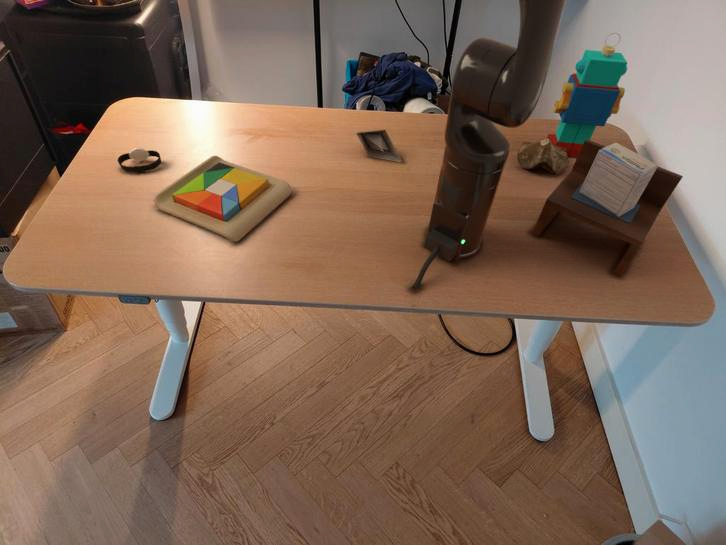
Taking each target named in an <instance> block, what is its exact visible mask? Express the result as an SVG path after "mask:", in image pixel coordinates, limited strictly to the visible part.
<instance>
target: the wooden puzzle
mask: <svg viewBox="0 0 726 545" xmlns="http://www.w3.org/2000/svg"><path fill="white" fill-rule="evenodd" d="M291 194H292V186H291V184H290V183H289V182H287V180H284V179H281V178H278V177H274V176H272V175H268V174H266V173H263V172H261V171H260V172H259V171H256V170H254V169H251V168H247V167H244V166H241V165H238V164H235V163H232V162H230V161H226V160H225V159H223V158H222V157H221V156H219V155H212V156H210V157H209V158H207V159H206V160H204V161H202V162H201V163H199V164H198V165H197V166H195V167H194V168H193V169H191V170H190V171H188V172H187V173H185V174H183V175H182V176H181V177H179V178H178V179H176V180H175V181H174V182H172V183H171V184H170V185H168V186H166V187H165V188H163V189H162V190H161V191H159V192H157V193H156V194H155V195H154V197H153V203H154V206H155V208H157V209H158V210H160V211H161V212H163V213H167V214H169V215H172V216H174V217H176V218H178V219H181V220H183V221H186V222H188V223H191V224H194V225H196V226H199V227H201V228H203V229H206V230H209V231H211V232H213V233H216V234H217V235H220V236H223V237H224V238H226V239H227V240H228V241H231V242H239V241H241V239H242V238H243V237H245V236H246V235H247V234H248V233H250V232H251V231H252V230H253V229H254V228H255V227H257V225H259V224H260V223H261V222H262V221H263V220H265V219H266V217H267V216H269V215H270V214H271V213H272V212H273V211H275V209H276V208H278V207H279V206H280V205H281V204H282V203H283V202H284V201H286V200H287V199H288V197H290V196H291Z"/></svg>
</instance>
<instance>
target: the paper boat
mask: <svg viewBox="0 0 726 545" xmlns="http://www.w3.org/2000/svg"><path fill="white" fill-rule="evenodd" d="M355 134H356V136H357V138H358V140H359V142H360V143H361V144H362V147H363V149H364V151H365V152H366V154H367V156H368V157H371V158H375V159H381V160H387V161H391V162H392V161H393V162H398V163H403V160H402V158H401V156H400V154H399V153H398V150H397V149H396V147H395V145H394V143H393V141H392V139H391V137H390V136H389V133H388V131H387V130H386V129H376V130H375V129H374V130H362V131H357V132H356V133H355Z"/></svg>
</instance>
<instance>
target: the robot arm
mask: <svg viewBox="0 0 726 545" xmlns="http://www.w3.org/2000/svg"><path fill="white" fill-rule="evenodd" d="M566 4H567V0H518V6H519V31H518V39H517V47H516V46H513V45H510V44H507V43H505V42H501V41H498V40H496V39H492V38H488V37H477V38H476V39H474V40H472V41H471V42H470V43H469V44H468V45H467V46H466V47H465V48H464V49H463V52H462V53H461V56H460V57H459V59H458V62H457V64H456V67H455V69H454V74H453V77H452V82H451V88H450V94H449V102H448V108H447V110H448V111H447V116H446V124H445V128H444V129H445V130H444V143H445V146H444V152H443V155H442V160H441V167H440V170H439V177H438V181H437V186H436V191H435V196H434V201H433V204H432V208H431V209H432V210H431V214H430V219H429V224H428V229H427V233H426V236H425V241H424V247H423V248H424V249H426V250H428V251H429V252H431V253H430V255H429V256H428V257H427V259H426V260H425V262H424V263H423V265H422V267H421V268H420V270H419V272H418V275H417V277H416V279H415V281H414V283H413V284H412V285H411V290H413V291H416V290H417V289H418V288H419V287H420V285H421V283H422V281H423V279H424V276H425V274H426V272H427V271H428V269H429V267H430V266H431V264H432V262H433V261H434V260H435V258H436V257H437V256H438V257H440V258H442V259H444V260H446V261H447V262H451V261H453V262H456V261H458V260H459V259H464V258H469V257H472V256H474V255H475V254H476V253H477V252H478V251H479V250H480V247H481V244H482V240H483V236H484V233H485V230H486V227H487V223H488V220H489V217H490V214H491V211H492V207H493V204H494V201H495V199H496V198H495V197H496V195H497V192H498V189H499V185H500V182H501V179H502V177H503V173H504V170H505V166H506V163H507V160H508V157H509V154H510V142H509V140H508V138H507V137H506V135H505V134H504V133H503V132H502V131H501V129H500V128H498V127H497V126H496V125H499V126H500V127H505V128H508V129H516V128H519V127H521V126H522V125H524V124H525V123H526V122H527V121H528V120H529V118H530V117H531V116H532V114H533V112H534V111H535V108H536V106H537V105H538V102H539V101H540V98H541V95H542V92H543V89H544V87H545V82H546V80H547V76H548V72H549V67H550V63H551V62H552V58H553V52H554V49H555V46H556V42H557V41H556V40H557V37H558V33H559V29H560V25H561V20H562V18H563V13H564V9H565V6H566ZM495 124H496V125H495Z"/></svg>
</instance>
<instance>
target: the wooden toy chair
mask: <svg viewBox="0 0 726 545" xmlns="http://www.w3.org/2000/svg"><path fill="white" fill-rule="evenodd" d="M606 146H607V145H603V144H601V143H598V142H596V141H592V140H591V139H590V140H587V139H586V140H585V141H584V143H583V146H582V148H581V150H580V152H579V155H578V157H576V159H575V162H574V163H573V166H572V167H571V168H572V169H571V170H570V171H569V172H568V174H566V176H565V177H564V178H563V179H562V181H560V183H559V184H558V185H557V186H556V187H555V189H554V190H553V191H552V192H551V193H550V195H549V196H548V197H547V198H546V200H545V202H544V205H543V207H542V209H541V212H540V214H539V215H538V219H537V221H536V224H535V226H534V228H533V231H532V235H534V236H536V237H539V236H540V235H541V234H542V233H543V231H545V229H546V228H547V227H548V225H549V224H550V223H551V221H553V219H554V218H555V216H556V215H557V214H558V213H559V212H561V213H563V214H565V215H567V216H569V217H571V218H574V219H577V220H578V221H580V222H582V223H585V224H587V225H589V226H591V227H593V228H595V229H598V230H600V231H602V232H605V233H606V234H609V235H611V236H613V237H615V238H618V239H619V240H622V241H624V242H627V243H628V244H629V245H628V247H627V249H626V250H625V252H624V254H623V255H622V257H621V259H620V261H619V262H618V264H617V265H616V267H615V269H614V271H613V273H612V274H614V275H616V276H618V277H621V276H622V275H623V273H624V272H625V270H626V269H627V267H628V265H629V264H630V262H631V261H632V260H633V258H634V257H635V255H636V253H637V252H638V250H639V249H640V247H641V246H642V244H643V243H644V241H645V239H646V237H647V236H648V234H649V233H650V231H651V229H652V228H653V225H654V223H655V222H656V220H657V218H658V217H659V214H660V212H661V211H662V210H663V208H664V206H665V204H666V203H667V202H668V200H669V198H670V197H671V196H672V194H673V192H674V191H675V190H676V188H677V186H678V185H679V184H680V182H681V181H682V179H683V177H684V176H683V175H682V174H679V173H676V172H673V171H671V170H669V169H666V168H662V167H660V166H658V167H657V169H656V171H655V172H654V174H653V176H652V177H651V179H650V181H649V183H648V184H647V186H646V188H645V189H644V191H643V193H642V195H641V196H640V198H639V200H638V202H637V203H636V205H635V207H634V208H633V209H631V210H629V211H628V212H626V213H625V214H623V215H621V216H620V217H618V216H617V215H615V214H613V213H612V212H610V211H609V210H607V209H606V208H604V207H602V206H601V205H599V204H598V203H596V202H595V201H593V200H591V199H590V198H588V197H587V196H585V195H584V194H582V193H580V190H581V188H582V186H583V184H584V182H585V179H586V177H587V175H588V173H589V171H590V169H591V167H592V165H593V162H594V160H595V158H596V156H597V154H598V152H599V150H600V149H602V148H604V147H606Z"/></svg>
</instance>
